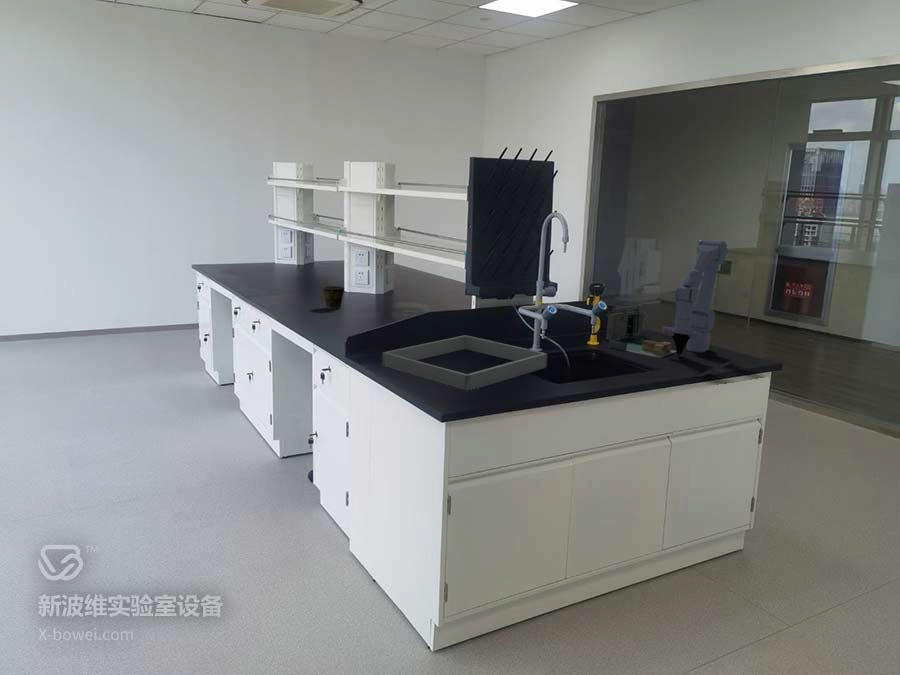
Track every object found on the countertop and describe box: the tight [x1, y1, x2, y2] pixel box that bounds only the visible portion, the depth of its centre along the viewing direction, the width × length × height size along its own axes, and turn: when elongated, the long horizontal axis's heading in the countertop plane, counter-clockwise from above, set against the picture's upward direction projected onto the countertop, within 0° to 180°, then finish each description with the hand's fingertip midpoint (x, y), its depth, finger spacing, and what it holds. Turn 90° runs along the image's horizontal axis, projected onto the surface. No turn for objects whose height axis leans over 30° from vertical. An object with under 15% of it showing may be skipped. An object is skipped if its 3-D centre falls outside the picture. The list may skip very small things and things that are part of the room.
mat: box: [609, 342, 677, 358], centre depth 274 cm, size 16×22×1 cm
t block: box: [642, 339, 672, 355], centre depth 271 cm, size 9×9×4 cm
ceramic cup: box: [322, 285, 345, 310], centre depth 336 cm, size 13×10×10 cm
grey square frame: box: [381, 334, 548, 392], centre depth 240 cm, size 43×37×5 cm
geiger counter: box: [605, 303, 648, 341], centre depth 299 cm, size 14×6×25 cm
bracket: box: [607, 336, 645, 351], centre depth 279 cm, size 15×7×2 cm, turn 139°
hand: (679, 353), depth 265 cm, fingers closed
